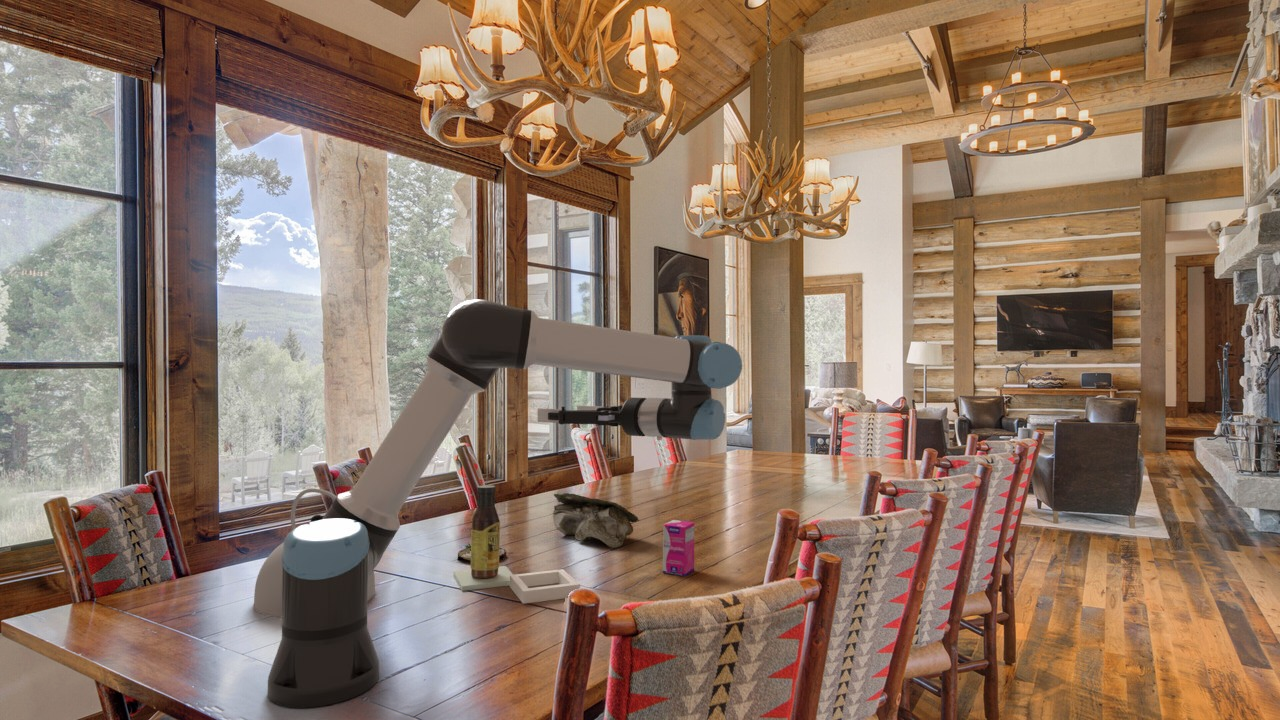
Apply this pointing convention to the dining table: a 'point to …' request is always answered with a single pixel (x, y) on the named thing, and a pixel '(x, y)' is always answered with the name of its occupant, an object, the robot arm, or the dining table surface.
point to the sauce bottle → (485, 535)
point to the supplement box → (678, 547)
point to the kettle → (272, 571)
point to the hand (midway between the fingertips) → (559, 413)
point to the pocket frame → (545, 593)
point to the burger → (467, 553)
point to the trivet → (482, 579)
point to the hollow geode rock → (593, 519)
